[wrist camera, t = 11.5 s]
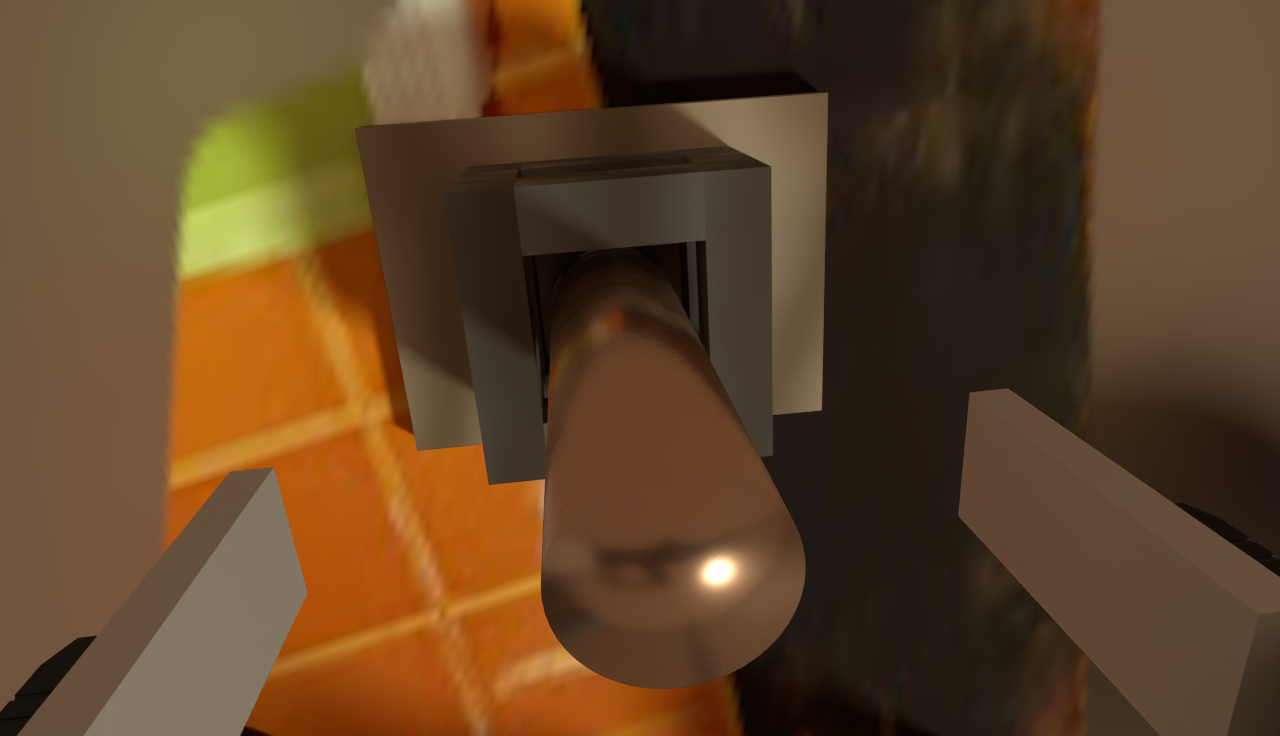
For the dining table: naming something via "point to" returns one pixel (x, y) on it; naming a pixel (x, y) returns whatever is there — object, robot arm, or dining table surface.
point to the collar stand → (592, 220)
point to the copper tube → (653, 489)
